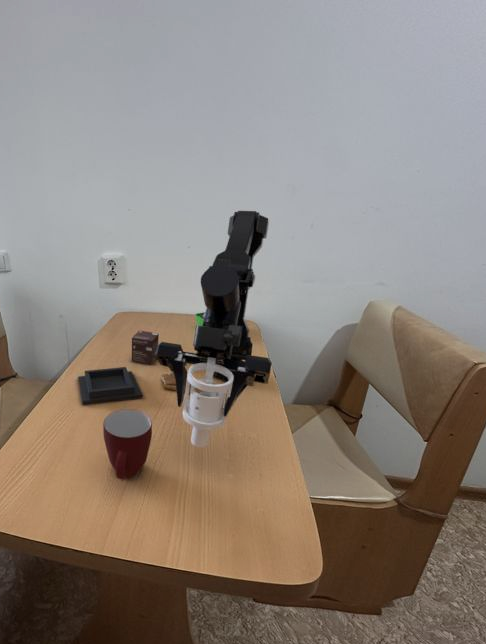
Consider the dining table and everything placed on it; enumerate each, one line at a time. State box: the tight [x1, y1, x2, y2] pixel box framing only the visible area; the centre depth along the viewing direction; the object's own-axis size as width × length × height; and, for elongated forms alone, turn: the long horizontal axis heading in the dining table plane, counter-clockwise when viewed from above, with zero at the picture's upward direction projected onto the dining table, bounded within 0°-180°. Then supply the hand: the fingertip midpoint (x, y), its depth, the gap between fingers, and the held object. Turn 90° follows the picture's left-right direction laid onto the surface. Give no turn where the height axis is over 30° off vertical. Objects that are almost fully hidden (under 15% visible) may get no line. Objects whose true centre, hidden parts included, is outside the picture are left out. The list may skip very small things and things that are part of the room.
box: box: [131, 330, 160, 365], centre depth 105 cm, size 6×6×7 cm
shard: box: [159, 372, 202, 394], centre depth 91 cm, size 11×8×2 cm
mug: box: [102, 408, 153, 480], centre depth 62 cm, size 11×8×10 cm
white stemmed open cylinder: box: [182, 357, 234, 449], centre depth 61 cm, size 7×7×15 cm
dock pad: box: [77, 366, 143, 406], centre depth 91 cm, size 14×12×3 cm
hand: (201, 411), depth 60 cm, fingers closed on white stemmed open cylinder, 7 cm apart
